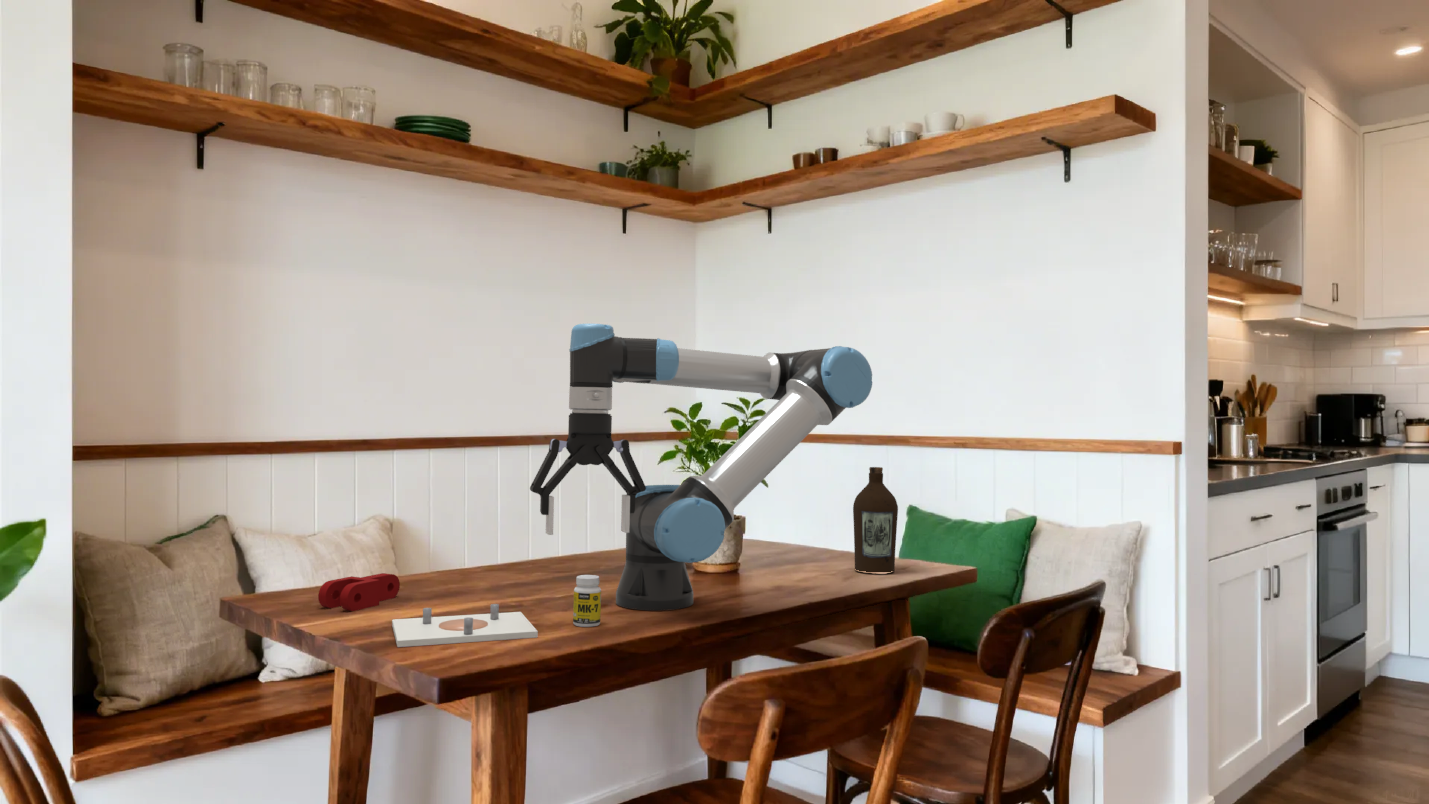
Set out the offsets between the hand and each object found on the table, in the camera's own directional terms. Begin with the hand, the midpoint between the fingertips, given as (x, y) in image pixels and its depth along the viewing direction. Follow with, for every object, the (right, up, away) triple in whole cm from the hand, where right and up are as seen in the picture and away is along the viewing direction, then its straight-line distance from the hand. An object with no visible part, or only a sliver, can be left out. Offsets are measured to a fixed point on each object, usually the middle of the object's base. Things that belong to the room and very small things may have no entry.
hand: (587, 533), depth 168 cm
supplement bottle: (0, -16, 0) cm, 16 cm away
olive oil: (+61, -18, +61) cm, 88 cm away
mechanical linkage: (-45, -16, +15) cm, 50 cm away
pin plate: (-20, -16, -7) cm, 26 cm away
